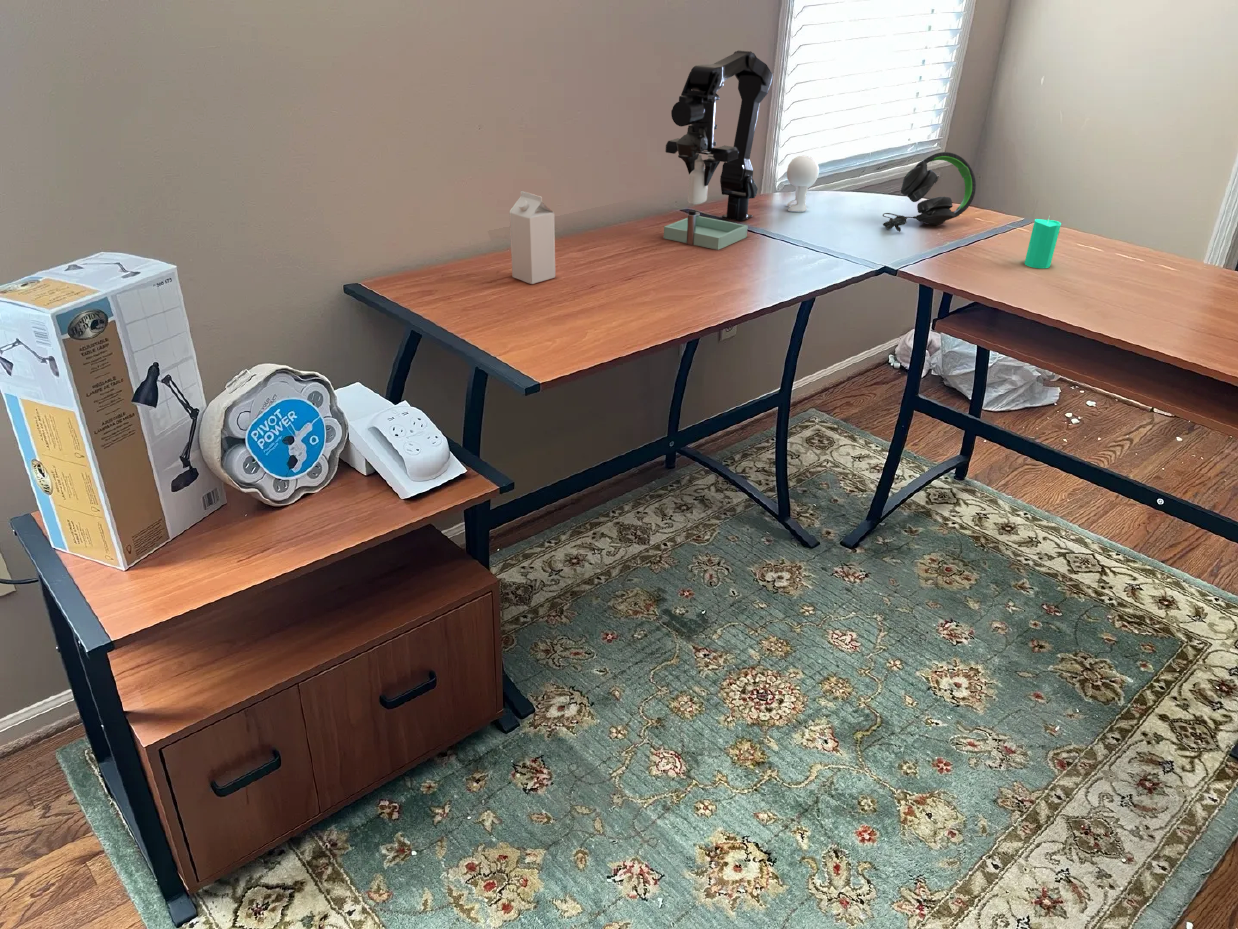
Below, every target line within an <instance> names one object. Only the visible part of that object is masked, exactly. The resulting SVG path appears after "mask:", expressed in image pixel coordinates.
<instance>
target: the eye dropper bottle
mask: <svg viewBox="0 0 1238 929" xmlns="http://www.w3.org/2000/svg"><path fill="white" fill-rule="evenodd" d="M703 160H704V159H703V157H702V154H699V156H698V159H697V160H695V169H694V170H693V171H692V172H691V173H690V174H689V173H688V183H687V185H688V186H687V203H688V204H690V205H693V206H694V205H695V206H696V205H700V204H704V203H705V202H707V200H708V190H709V184H708V185H707V186H704V175H705V164H704V162H703Z"/></svg>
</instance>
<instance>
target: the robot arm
mask: <svg viewBox="0 0 1238 929" xmlns="http://www.w3.org/2000/svg"><path fill="white" fill-rule="evenodd" d="M732 77H735V79H736V80H737V81H738V82H737V90H738V93H739V96H740V99H741V102H740V108H739V113H738V119H737V126H736V130H735V137H734V141H733V146H732V145H731V146H730V145H722V146H718V147H716V146H717V141H714V136H715V135H714V134H715V130H717V129H718V124H715V120H716V119H715V118H716V101H720V99H721V98H720V95H719V94H717V92H718V91H719V90H720V89H722V88H723V86H724V82H725V81H726V80H728V79H730V78H732ZM772 82H773V73H772V71H771V68H769V66H768V65H767V63H765V62H764V61H762V60H761V59H760V58H758V57H757V55H756V54H755V53H754V52H753V51H752V50H751V51H750V50H741V49H740V50H739V49H738V50H736V51H734V52H733V53H732V54H730V55H728V56H725V57H724V58H722V59H720V60H718V61H716V62H714V63H710V64H709V63H708V64H697V65H694V66H692V68H691V70H690V71H689V73H688V76H687V78H686V81H685V83H684V86H683V87H682V88H683V89H682V91H681V94H680V95H679V96H678V101H677V102H676V103H675V104H673V106H672V109H671V110H670V111H671V113H670V114H671V119H672V122H673V123H674V124H675V125H676V126H678V127H686V126H688V127H687V131H686V134H683V136H681V137H680V138H673V139H670V140H668V141H667V142H666V144H665V148H664V149H665V150H664V152H665V153H666V154H673V155H674V154H675V155H676V154H677V153H678V155H677V157H678V159H681V160H682V161H683V162H684V164H685V166H686V168H687V172H688V175H689V174H690V173H691V172H692V171H693V170H694V169H695V160H697V159H698V156H699V155H706V156H707V158H705V159H702V160H703V162H704V169H705V175H704V186H707V185H708V186H709V184H710V181H711V180H712V178H713V176H714V173H715V171H716V170H717V168H718V167H719V165H720V164H721V162H722V166H721V168H722V169H721V174H720V176H719V177H720V178H719V182H720V183H719V184H720V191H721V195H722V196H724V195H725V196H728V197H727V206H726V214H723V215H722V216H721V218H722V219H727V220H731V221H736V222H744V221H747V220H749V219H751V218H753V214H749V204H750V199H755V198H756V197H757V194H758V186H757V184H756V182H755V180H754V178H753V177H754V168H753V165H752V163H751V160H750V159H751V153H752V148H753V142H754V136H755V133H756V127H757V121H758V116H759V112H760V111H759V110H760V105H761V103H762V101H763V100H764V99H765V98H766V97H767V95H768V94H769V90H770V87H771V84H772Z"/></svg>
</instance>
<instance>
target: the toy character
mask: <svg viewBox="0 0 1238 929" xmlns="http://www.w3.org/2000/svg"><path fill="white" fill-rule="evenodd" d="M819 174H820V167H819V164H818V162H817V160H816V159H815V158H813V157H812V156H809V155H798V156H795V157H794V158H793V159H791V161H790V162H789V164H788V165H787V169H786V179H787V181H788V183H789V184H790V185H792V186H793V187H794V188H795V190H794V199H793V200H790V201H789V202H787V204H786V207H787V208H788V209H787V211H788V212H793V213H794V212H797V213H798V212H799V213H800V212H801V213H802V212H807V204H806V198H807V193H808V189H809V188H810V187H812V186H813V185H814V184H815V183H816V181H817V180H818V177H819Z"/></svg>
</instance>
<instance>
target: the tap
mask: <svg viewBox="0 0 1238 929" xmlns="http://www.w3.org/2000/svg"><path fill="white" fill-rule="evenodd" d="M699 216H701V212H700V211H697V210H694V209H689V210H688V213H687V218H688V222H687V242H686V243H685V244H686V245H687V246H695V245H694V233H695V232H696V218H697V217H699Z"/></svg>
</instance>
